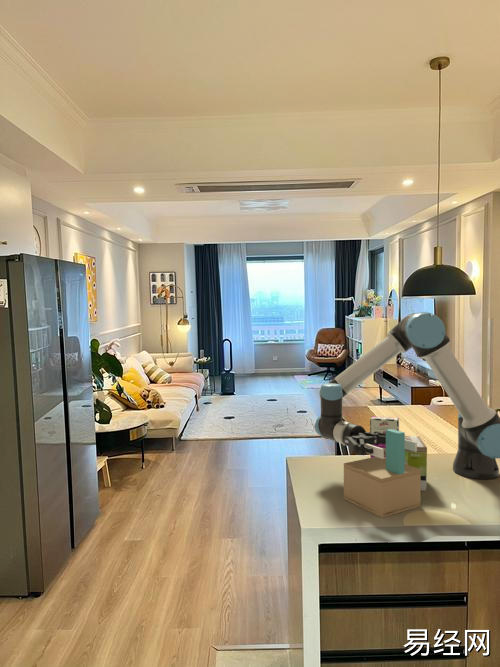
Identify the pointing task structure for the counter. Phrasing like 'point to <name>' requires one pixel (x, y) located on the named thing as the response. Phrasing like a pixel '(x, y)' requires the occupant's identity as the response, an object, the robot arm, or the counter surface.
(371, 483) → the carton
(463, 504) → the counter surface
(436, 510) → the counter surface
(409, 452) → the tea box
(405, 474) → the carton lid
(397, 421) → the candy bar box
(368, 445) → the robot arm
